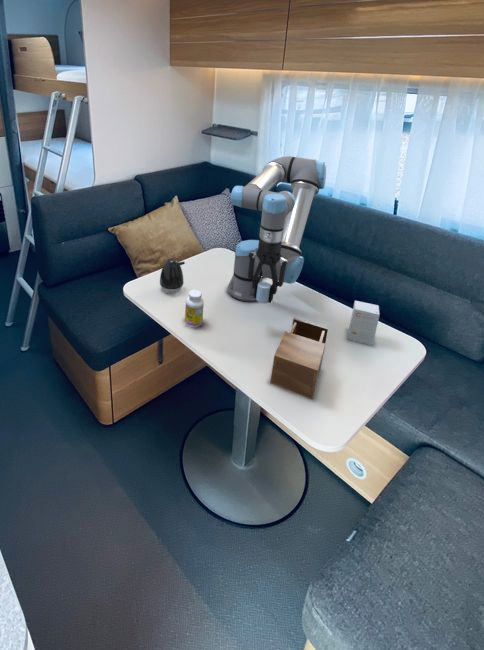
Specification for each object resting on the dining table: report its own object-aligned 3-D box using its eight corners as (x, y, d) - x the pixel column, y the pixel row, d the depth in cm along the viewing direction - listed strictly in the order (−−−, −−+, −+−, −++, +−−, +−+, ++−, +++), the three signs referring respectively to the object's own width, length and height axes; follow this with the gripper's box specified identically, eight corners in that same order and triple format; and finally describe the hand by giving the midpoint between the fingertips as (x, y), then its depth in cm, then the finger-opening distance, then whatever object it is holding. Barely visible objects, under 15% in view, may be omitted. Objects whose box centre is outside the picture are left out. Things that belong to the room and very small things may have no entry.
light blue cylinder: (258, 294, 149) (260, 280, 147) (271, 298, 147) (273, 283, 145) (254, 300, 145) (255, 286, 143) (267, 304, 143) (269, 289, 141)
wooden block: (281, 357, 137) (285, 331, 134) (320, 370, 132) (325, 343, 128) (270, 383, 126) (274, 355, 122) (312, 399, 120) (317, 370, 117)
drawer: (293, 331, 149) (296, 311, 146) (326, 342, 144) (330, 321, 141) (282, 358, 135) (285, 336, 132) (317, 371, 130) (322, 348, 127)
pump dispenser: (181, 298, 170) (182, 265, 164) (157, 295, 171) (157, 262, 166) (185, 285, 179) (186, 254, 174) (162, 282, 181) (163, 252, 175)
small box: (372, 335, 149) (379, 305, 145) (372, 346, 144) (380, 314, 139) (348, 329, 152) (354, 299, 148) (347, 339, 147) (354, 308, 142)
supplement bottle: (181, 320, 155) (182, 290, 151) (196, 315, 158) (198, 286, 154) (190, 330, 150) (192, 300, 145) (205, 325, 153) (207, 295, 148)
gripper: (241, 237, 139) (235, 296, 147) (294, 249, 131) (285, 311, 139) (248, 230, 145) (243, 287, 154) (299, 241, 137) (290, 301, 145)
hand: (263, 298), depth 146 cm, fingers closed on light blue cylinder, 5 cm apart
